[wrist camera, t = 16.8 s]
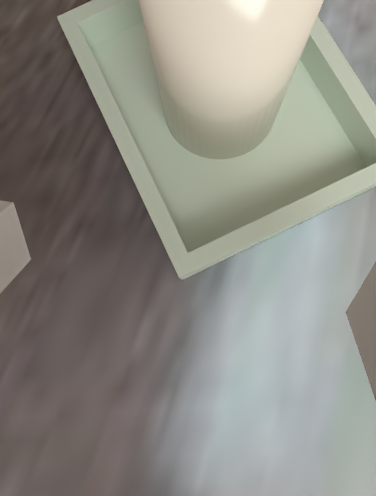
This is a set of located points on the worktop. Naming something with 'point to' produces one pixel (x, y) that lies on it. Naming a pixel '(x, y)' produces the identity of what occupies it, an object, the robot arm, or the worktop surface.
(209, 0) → the canister
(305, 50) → the tray
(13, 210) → the robot arm
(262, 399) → the worktop surface
